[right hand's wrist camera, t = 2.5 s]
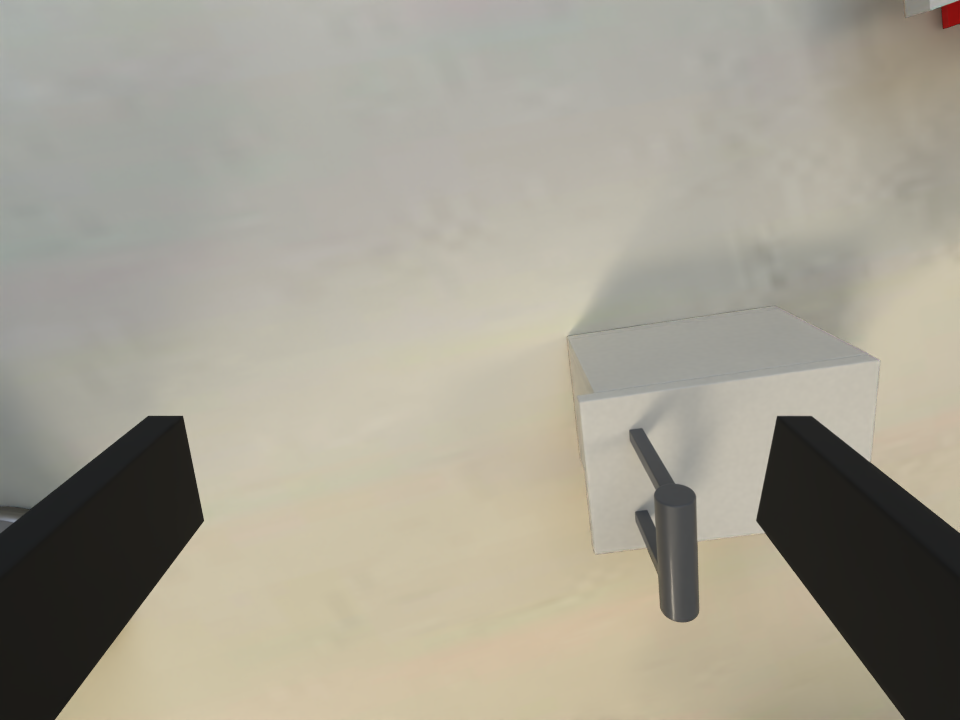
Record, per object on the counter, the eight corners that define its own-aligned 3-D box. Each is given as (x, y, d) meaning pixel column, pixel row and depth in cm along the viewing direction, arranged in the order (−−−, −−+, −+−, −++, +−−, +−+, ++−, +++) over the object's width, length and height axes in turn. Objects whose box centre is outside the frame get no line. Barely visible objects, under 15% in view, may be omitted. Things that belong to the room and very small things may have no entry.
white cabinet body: (579, 458, 41) (607, 542, 32) (566, 335, 38) (593, 392, 29) (772, 432, 41) (855, 511, 32) (775, 305, 37) (869, 353, 28)
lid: (591, 545, 32) (624, 660, 25) (576, 395, 29) (608, 477, 22) (855, 511, 32) (970, 620, 24) (869, 353, 28) (1007, 424, 21)
